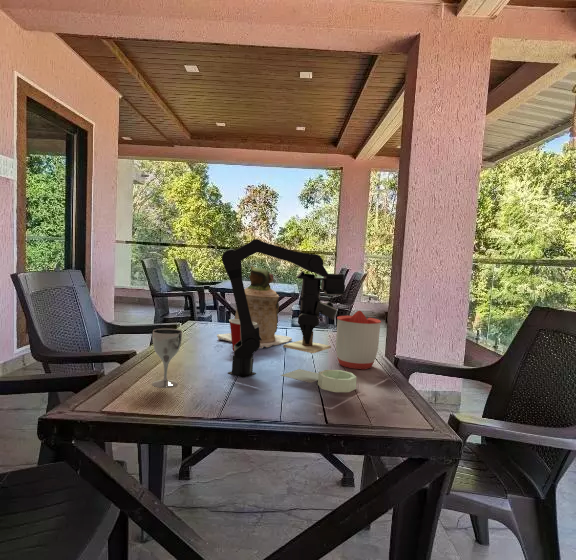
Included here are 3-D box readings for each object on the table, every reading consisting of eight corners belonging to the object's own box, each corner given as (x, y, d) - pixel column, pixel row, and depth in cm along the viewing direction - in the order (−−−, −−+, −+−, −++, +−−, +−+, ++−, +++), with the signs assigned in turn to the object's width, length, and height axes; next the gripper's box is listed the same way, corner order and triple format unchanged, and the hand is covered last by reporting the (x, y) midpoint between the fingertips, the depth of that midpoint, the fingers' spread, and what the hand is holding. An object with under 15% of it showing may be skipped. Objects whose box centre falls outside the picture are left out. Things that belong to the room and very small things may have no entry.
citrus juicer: (379, 362, 173) (383, 309, 172) (375, 374, 156) (380, 315, 155) (338, 357, 177) (341, 305, 176) (329, 367, 160) (334, 310, 159)
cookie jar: (264, 350, 182) (269, 268, 180) (214, 340, 193) (218, 264, 191) (293, 341, 203) (298, 268, 201) (247, 332, 215) (251, 264, 213)
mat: (310, 384, 139) (310, 382, 139) (280, 376, 145) (280, 375, 145) (328, 377, 149) (328, 375, 148) (299, 370, 155) (299, 368, 155)
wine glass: (149, 380, 132) (151, 328, 131) (177, 379, 135) (180, 328, 134) (151, 388, 125) (154, 333, 124) (181, 387, 128) (184, 333, 127)
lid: (313, 353, 139) (314, 336, 138) (283, 347, 145) (284, 330, 144) (330, 348, 148) (331, 332, 148) (301, 342, 154) (302, 326, 154)
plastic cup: (259, 355, 172) (261, 323, 172) (231, 355, 168) (232, 323, 168) (250, 348, 182) (252, 318, 182) (223, 348, 178) (225, 318, 178)
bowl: (344, 395, 130) (345, 381, 130) (312, 387, 136) (313, 374, 136) (359, 387, 139) (360, 374, 139) (329, 380, 144) (330, 368, 144)
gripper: (337, 298, 135) (333, 351, 136) (335, 292, 154) (332, 339, 155) (299, 296, 136) (296, 348, 137) (301, 290, 155) (298, 336, 156)
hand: (307, 342), depth 146 cm, fingers closed on lid, 3 cm apart
